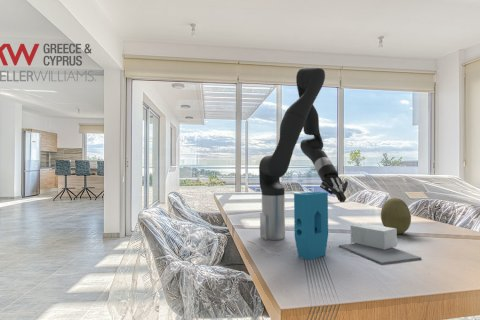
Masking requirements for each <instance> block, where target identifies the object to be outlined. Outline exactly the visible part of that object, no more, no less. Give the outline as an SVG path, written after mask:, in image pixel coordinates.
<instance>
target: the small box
mask: <svg viewBox="0 0 480 320" xmlns="http://www.w3.org/2000/svg"><path fill="white" fill-rule="evenodd" d="M397 237H398V235H397V229H395V228H390V227H384V225H379V224H378V225H377V224H371V223H370V224H369V223H365V222H361V223H355V224H350V242H351V243H352V244H354V243H357V244H362V245H366V246H370V247H375V248H379V249H383V250H386V249H389V248H395V247H397V246H398V238H397Z"/></svg>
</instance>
